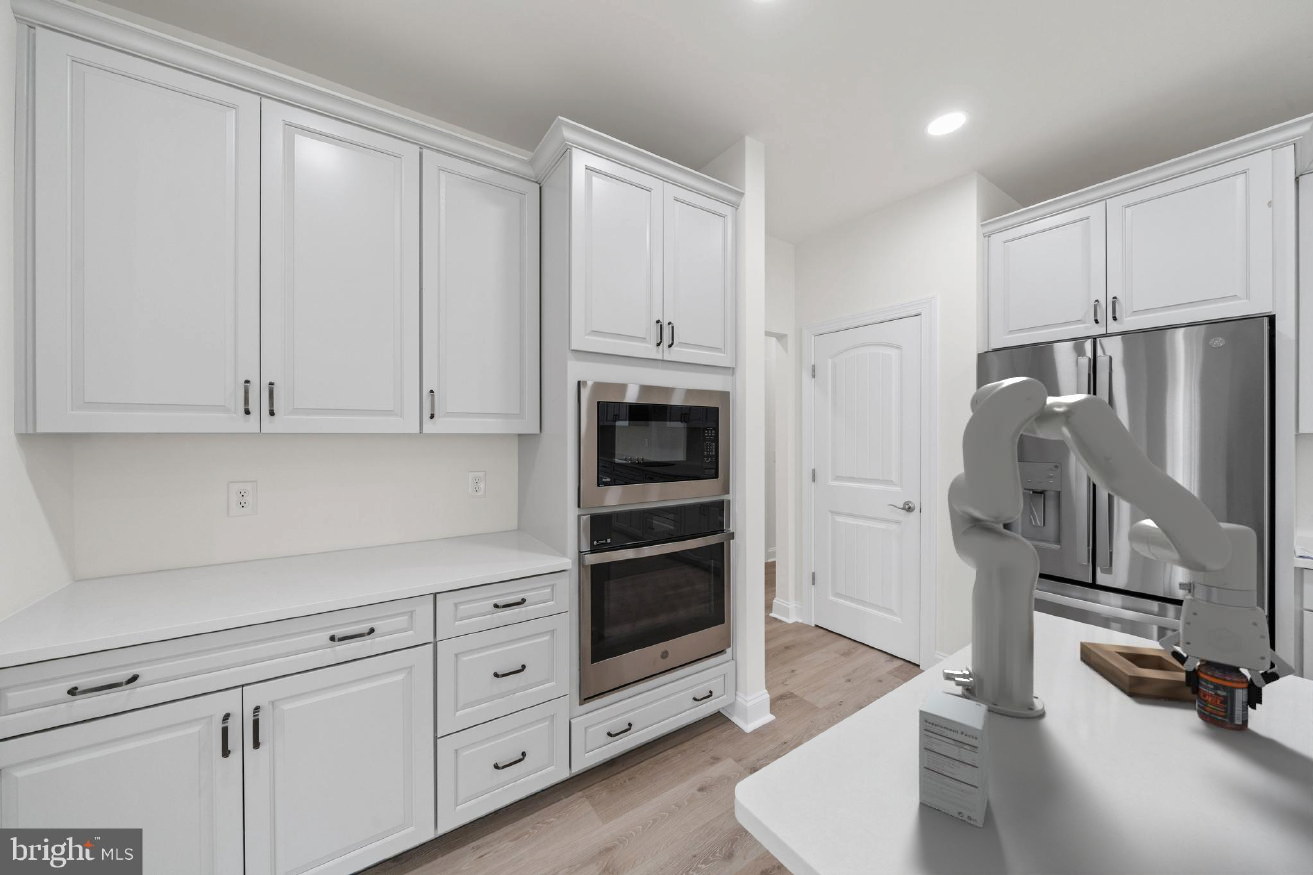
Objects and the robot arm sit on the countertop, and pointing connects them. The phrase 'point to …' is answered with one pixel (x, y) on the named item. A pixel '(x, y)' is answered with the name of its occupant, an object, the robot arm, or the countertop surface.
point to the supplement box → (954, 756)
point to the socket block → (1139, 671)
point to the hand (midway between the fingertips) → (1222, 697)
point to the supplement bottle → (1222, 695)
